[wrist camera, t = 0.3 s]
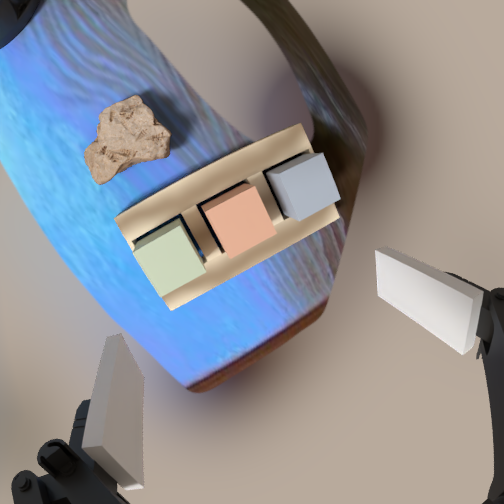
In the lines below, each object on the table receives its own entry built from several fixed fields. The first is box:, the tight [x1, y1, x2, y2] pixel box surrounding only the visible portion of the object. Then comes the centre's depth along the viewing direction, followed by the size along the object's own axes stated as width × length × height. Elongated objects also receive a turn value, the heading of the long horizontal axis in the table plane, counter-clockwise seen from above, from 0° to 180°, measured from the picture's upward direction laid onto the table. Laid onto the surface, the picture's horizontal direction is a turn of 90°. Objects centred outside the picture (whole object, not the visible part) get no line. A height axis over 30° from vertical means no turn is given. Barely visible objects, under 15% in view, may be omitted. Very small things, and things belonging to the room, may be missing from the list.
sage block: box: [133, 218, 206, 297], centre depth 35 cm, size 6×6×5 cm
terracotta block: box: [201, 183, 277, 259], centre depth 36 cm, size 6×6×5 cm
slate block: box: [266, 153, 341, 221], centre depth 36 cm, size 6×6×5 cm
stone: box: [84, 95, 172, 185], centre depth 32 cm, size 9×11×5 cm
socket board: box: [114, 123, 339, 311], centre depth 39 cm, size 14×26×3 cm, turn 116°
